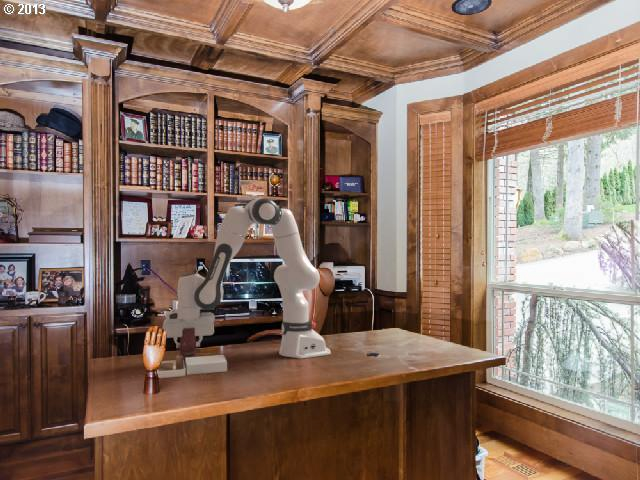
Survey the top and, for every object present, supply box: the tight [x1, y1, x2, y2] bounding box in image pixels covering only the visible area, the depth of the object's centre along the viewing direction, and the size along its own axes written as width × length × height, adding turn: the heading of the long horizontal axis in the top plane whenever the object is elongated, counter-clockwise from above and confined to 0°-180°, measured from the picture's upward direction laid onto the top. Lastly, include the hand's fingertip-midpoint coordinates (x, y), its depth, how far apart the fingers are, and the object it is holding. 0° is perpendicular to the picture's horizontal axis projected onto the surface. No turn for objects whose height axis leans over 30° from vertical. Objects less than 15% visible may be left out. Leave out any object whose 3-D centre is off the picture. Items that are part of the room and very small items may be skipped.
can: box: [179, 327, 197, 364], centre depth 179 cm, size 6×6×14 cm
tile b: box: [159, 363, 173, 371], centre depth 164 cm, size 5×4×2 cm
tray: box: [157, 359, 186, 379], centre depth 165 cm, size 10×14×2 cm
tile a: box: [175, 354, 183, 370], centre depth 166 cm, size 5×4×2 cm
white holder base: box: [184, 354, 228, 376], centre depth 169 cm, size 14×11×4 cm
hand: (188, 347), depth 179 cm, fingers open, 6 cm apart
